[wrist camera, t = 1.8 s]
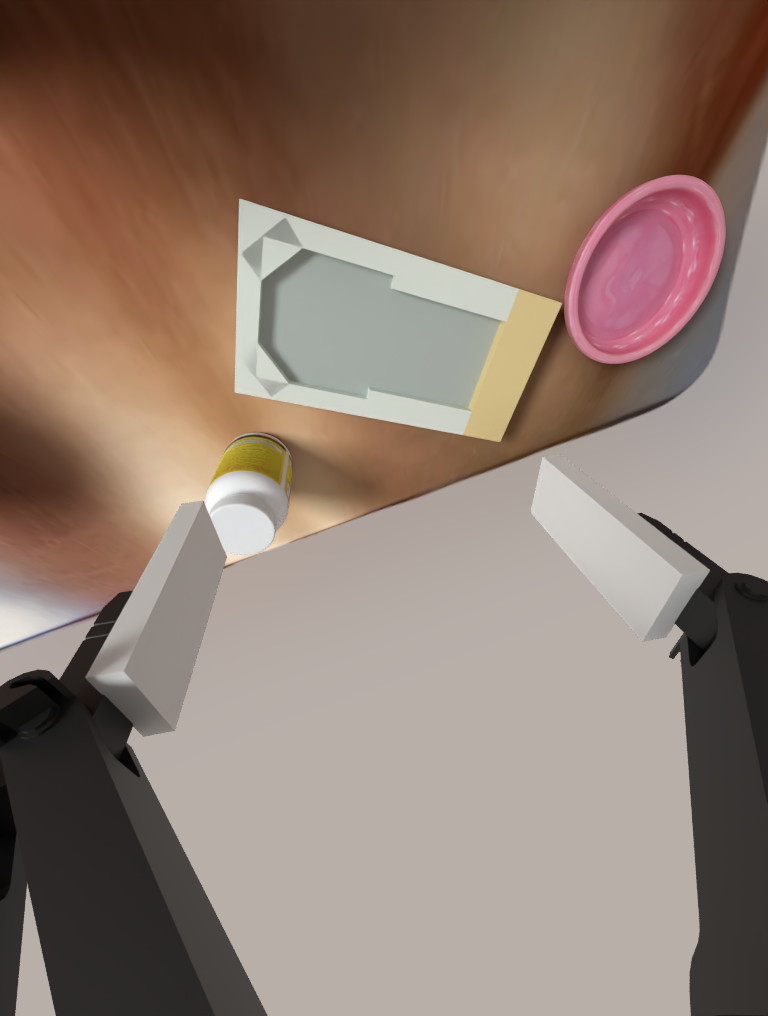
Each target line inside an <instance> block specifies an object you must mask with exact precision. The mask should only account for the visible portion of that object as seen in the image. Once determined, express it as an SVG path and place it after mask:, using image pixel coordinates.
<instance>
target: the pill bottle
mask: <svg viewBox="0 0 768 1016" xmlns="http://www.w3.org/2000/svg"><path fill="white" fill-rule="evenodd" d="M292 467H293V463H292V457H291V454H290V452H289V450H288V449H287V447H286V446H285V445H284V444H283V443H282V442H281V441H280V440H278V439H277V438H275V437H273V436H271V435H268V434H265V433H258V432H253V433H247V434H243V435H241V436H239V437H237V438H235V439H234V440H233V441H232V442H231V443H230V444H229V446H228V447H227V449H226V450H225V453H224V455H223V457H222V460H221V462H220V464H219V466H218V468H217V470H216V473H215V475H214V477H213V479H212V481H211V484H210V486H209V488H208V491H207V494H206V498H205V506H206V508H207V511H208V513H209V515H210V518H211V520H212V523H213V525H214V527H215V530H216V532H217V534H218V537H219V539H220V542H221V544H222V546H223V549H224V551H226V552H228V553H231V554H236V555H251V554H256V553H258V552H261V551H263V550H264V549H266V548H267V547H268V546H269V545H270V544H271V543H272V541H273V539H274V537H275V533H276V530H278V529H279V528H280V527H281V526H282V524H283V523H284V521H285V520H286V517H287V514H288V509H289V500H290V491H291V481H292Z"/></svg>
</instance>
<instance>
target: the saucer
mask: <svg viewBox="0 0 768 1016" xmlns="http://www.w3.org/2000/svg"><path fill="white" fill-rule="evenodd" d="M725 236H726V226H725V216H724V211H723V208H722V205H721V202H720V200H719V198H718V196H717V194H716V193H715V191H714V190H713V189H712V188H711V187H710V186H709V185H708V184H706V183H705V182H704V181H702V180H700V179H698V178H696V177H693V176H688V175H671V176H665V177H661V178H657V179H654V180H651V181H648V182H646V183H644V184H642V185H640V186H638V187H636V188H634V189H632V190H631V191H629V192H628V193H626V194H625V195H623V196H622V197H621V198H619V199H618V200H617V201H616V202H615V203H614V204H612V205H611V206H610V207H609V208H608V209H607V210H606V211H605V212H604V213H603V215H602V216H601V217H600V218H599V219H598V220H597V222H596V223H595V224H594V225H593V227H592V228H591V230H590V231H589V233H588V234H587V236H586V237H585V239H584V241H583V243H582V244H581V246H580V248H579V250H578V252H577V254H576V257H575V259H574V261H573V264H572V267H571V270H570V273H569V276H568V280H567V284H566V289H565V297H564V316H565V323H566V327H567V331H568V334H569V336H570V338H571V340H572V342H573V343H574V345H575V346H576V347H577V349H578V350H579V351H580V352H581V353H583V354H584V355H585V356H587V357H589V358H591V359H593V360H595V361H598V362H602V363H607V364H620V363H626V362H630V361H634V360H637V359H639V358H642V357H644V356H646V355H648V354H650V353H652V352H654V351H655V350H657V349H658V348H660V347H661V346H663V345H664V344H665V343H667V342H668V341H669V340H670V339H672V338H673V337H674V336H675V335H676V334H677V333H678V332H679V331H680V330H681V329H682V328H683V327H684V326H685V325H686V324H687V322H688V321H689V320H690V319H691V318H692V316H693V315H694V314H695V312H696V311H697V310H698V308H699V307H700V305H701V304H702V302H703V301H704V299H705V297H706V296H707V294H708V292H709V290H710V288H711V286H712V284H713V282H714V279H715V277H716V275H717V272H718V269H719V266H720V263H721V259H722V256H723V251H724V245H725Z"/></svg>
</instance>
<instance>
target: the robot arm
mask: <svg viewBox="0 0 768 1016" xmlns="http://www.w3.org/2000/svg"><path fill="white" fill-rule="evenodd" d="M531 514H532V515H533V516H534V517H535V518H536V520H537V521H538V522H539V523H540V524H541V525H542V526H543V528H544V529H545V530H546V531H547V532H548V533H549V535H550V536H551V537H552V538H553V539H554V540H555V541H556V543H557V544H558V545H559V546H560V547H561V548H562V549H563V551H564V552H565V553H566V554H567V555H568V556H569V557H570V559H571V560H572V561H573V562H574V563H575V565H577V567H578V568H579V569H580V570H581V571H582V573H583V574H584V575H585V576H586V577H587V578H588V579H589V581H590V582H591V583H592V584H593V585H594V586H595V588H596V589H597V590H598V591H599V592H600V593H601V594H602V596H603V597H604V598H605V599H606V600H607V601H608V603H609V604H610V605H611V606H612V607H613V608H614V610H615V611H616V612H617V613H618V614H619V615H620V616H621V618H622V619H623V620H624V621H625V622H626V623H627V625H628V626H629V627H630V628H631V629H632V630H633V631H634V633H635V634H636V635H637V636H638V637H639V638H640V640H642V641H649V640H653V639H659V638H664V637H667V635H668V634H669V632H670V631H671V629H672V627H673V626H674V624H676V625H677V626H678V627H679V628H680V629H681V630H682V631H683V632H684V633H683V635H682V636H681V638H680V639H679V640H678V642H677V643H676V645H675V646H674V648H673V649H672V651H671V652H670V656H669V657H670V658H672V659H674V658H675V656H676V655H677V654H678V652H681V666H682V679H683V680H682V681H683V694H684V709H685V723H686V737H687V751H688V765H689V780H690V794H691V807H692V823H693V836H694V850H695V863H696V864H695V865H696V879H697V891H698V892H697V893H698V908H699V922H700V933H699V940H698V944H697V947H696V949H695V952H694V955H693V957H692V961H691V968H690V1005H691V1006H690V1007H691V1016H768V582H767V581H765V580H763V579H760V578H758V577H755V576H752V575H748V574H742V573H728V572H726V571H725V570H724V569H722V568H721V567H719V566H718V565H717V564H716V563H714V562H713V561H712V560H710V559H709V558H708V557H706V556H705V555H703V554H702V553H701V552H700V551H698V550H697V549H695V548H694V547H693V546H691V545H690V544H689V543H687V542H684V541H683V539H682V538H681V537H679V536H678V535H677V534H675V533H672V531H671V530H670V529H669V528H667V527H666V526H665V525H663V524H662V523H661V522H659V521H658V520H656V519H653V518H651V517H649V516H647V515H645V514H643V513H636V512H634V511H633V510H632V509H630V508H629V507H628V506H627V505H625V504H624V503H623V502H621V501H620V500H619V499H617V498H616V497H615V496H614V495H612V494H611V493H610V492H608V491H607V490H606V489H605V488H603V487H602V486H601V485H600V484H598V483H597V482H595V481H594V480H593V479H592V478H590V477H589V476H588V475H587V474H585V473H584V472H583V471H581V470H580V469H579V468H578V467H576V466H575V465H574V464H572V463H571V462H570V461H568V460H567V459H566V458H565V457H563V456H562V455H552V456H545V457H543V458H542V463H541V468H540V472H539V477H538V481H537V485H536V490H535V494H534V499H533V503H532V507H531ZM226 558H227V556H226V553H225V551H224V549H223V546H222V544H221V542H220V539H219V537H218V534H217V532H216V530H215V527H214V525H213V523H212V520H211V518H210V515H209V513H208V511H207V508H206V506H205V503H204V501H199V502H191V503H183V504H181V506H180V507H179V509H178V511H177V513H176V515H175V516H174V518H173V520H172V522H171V524H170V525H169V527H168V529H167V531H166V533H165V534H164V536H163V538H162V540H161V542H160V543H159V545H158V547H157V549H156V551H155V552H154V554H153V556H152V558H151V560H150V561H149V563H148V565H147V567H146V569H145V570H144V572H143V574H142V576H141V578H140V579H139V581H138V583H137V585H136V587H135V589H134V590H133V591H128V592H121V593H119V594H118V595H117V596H115V597H114V598H113V599H112V600H111V601H110V602H109V603H108V604H107V605H106V606H105V607H104V608H103V609H102V611H101V613H100V614H99V616H98V618H97V619H96V621H95V622H94V627H91V629H90V631H89V632H88V634H87V636H86V640H84V641H83V642H82V644H81V645H80V647H79V649H78V650H77V652H76V653H75V655H74V657H73V658H72V660H71V662H70V663H69V665H68V667H67V668H66V670H65V672H64V673H63V675H62V676H61V678H60V679H59V680H58V679H57V678H56V677H55V676H54V675H53V674H52V673H50V672H49V671H46V670H35V671H31V672H27V673H23V674H22V675H19V676H17V677H15V678H13V679H11V680H9V681H7V682H6V683H4V684H3V685H2V686H0V1016H15V1010H16V999H17V987H18V977H19V976H18V975H19V966H20V954H21V943H22V933H23V921H24V911H25V899H26V889H27V883H28V888H29V892H30V897H31V901H32V906H33V911H34V916H35V920H36V925H37V930H38V934H39V939H40V944H41V948H42V953H43V958H44V962H45V967H46V972H47V976H48V981H49V986H50V990H51V995H52V1000H53V1004H54V1009H55V1013H56V1016H267V1014H266V1012H265V1010H264V1008H263V1006H262V1004H261V1002H260V1000H259V998H258V996H257V994H256V992H255V990H254V988H253V986H252V984H251V982H250V980H249V978H248V976H247V974H246V972H245V970H244V968H243V966H242V964H241V962H240V960H239V958H238V957H237V954H236V953H235V950H234V949H233V947H232V945H231V943H230V941H229V939H228V937H227V935H226V933H225V931H224V929H223V927H222V925H221V923H220V921H219V919H218V917H217V915H216V913H215V911H214V909H213V907H212V905H211V903H210V901H209V899H208V897H207V895H206V893H205V891H204V890H203V887H202V885H201V883H200V882H199V879H198V878H197V875H196V874H195V872H194V870H193V868H192V866H191V864H190V862H189V860H188V858H187V856H186V854H185V852H184V850H183V848H182V846H181V844H180V842H179V840H178V838H177V836H176V834H175V832H174V830H173V828H172V826H171V824H170V822H169V820H168V819H167V816H166V814H165V812H164V810H163V808H162V806H161V804H160V803H159V801H158V799H157V797H156V795H155V793H154V791H153V789H152V787H151V785H150V783H149V781H148V779H147V777H146V775H145V773H144V771H143V769H142V767H141V765H140V763H139V761H138V759H137V757H136V755H135V753H134V751H133V749H132V748H131V747H130V746H129V745H128V744H127V740H128V737H129V735H130V732H131V730H132V727H135V729H136V730H137V731H138V732H139V733H140V734H141V735H142V736H149V735H154V734H160V733H165V732H170V731H175V729H176V725H177V722H178V718H179V715H180V712H181V708H182V705H183V701H184V698H185V695H186V692H187V688H188V685H189V682H190V678H191V675H192V672H193V668H194V665H195V661H196V658H197V655H198V652H199V648H200V645H201V641H202V638H203V635H204V632H205V628H206V625H207V622H208V618H209V615H210V611H211V608H212V605H213V602H214V598H215V595H216V591H217V588H218V585H219V582H220V578H221V575H222V572H223V568H224V565H225V561H226Z"/></svg>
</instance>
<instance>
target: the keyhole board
mask: <svg viewBox="0 0 768 1016" xmlns="http://www.w3.org/2000/svg"><path fill="white" fill-rule="evenodd" d="M561 305H562V303H561V302H557V301H554V300H551V299H548V298H545V297H542V296H539V295H536V294H533V293H530V292H527V291H524V290H520V289H517V288H514V287H511V286H508V285H505V284H502V283H499V282H496V281H493V280H490V279H486V278H483V277H480V276H477V275H474V274H471V273H468V272H465V271H462V270H459V269H456V268H453V267H449V266H446V265H443V264H440V263H437V262H434V261H431V260H428V259H425V258H422V257H419V256H415V255H412V254H409V253H406V252H403V251H400V250H397V249H394V248H391V247H388V246H385V245H382V244H378V243H375V242H372V241H369V240H366V239H363V238H360V237H357V236H354V235H351V234H348V233H344V232H341V231H338V230H335V229H332V228H329V227H326V226H323V225H320V224H317V223H314V222H311V221H307V220H304V219H301V218H298V217H295V216H292V215H289V214H286V213H283V212H280V211H277V210H273V209H270V208H267V207H264V206H261V205H258V204H255V203H252V202H249V201H246V200H243V199H240V198H239V230H238V274H237V317H236V360H235V393H241V394H246V395H251V396H257V397H262V398H267V399H273V400H278V401H283V402H289V403H294V404H299V405H305V406H310V407H315V408H321V409H326V410H331V411H337V412H342V413H347V414H353V415H358V416H363V417H369V418H374V419H379V420H385V421H390V422H395V423H401V424H406V425H412V426H417V427H422V428H428V429H433V430H438V431H444V432H449V433H454V434H460V435H465V436H470V437H476V438H481V439H486V440H492V441H497V442H500V441H501V439H502V437H503V434H504V432H505V430H506V428H507V426H508V423H509V421H510V419H511V417H512V414H513V412H514V410H515V408H516V405H517V403H518V401H519V399H520V397H521V394H522V392H523V390H524V388H525V385H526V383H527V381H528V379H529V376H530V374H531V372H532V370H533V368H534V365H535V363H536V361H537V359H538V356H539V354H540V352H541V350H542V347H543V345H544V343H545V341H546V339H547V336H548V334H549V332H550V330H551V327H552V325H553V323H554V321H555V318H556V316H557V314H558V312H559V309H560V307H561Z"/></svg>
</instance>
